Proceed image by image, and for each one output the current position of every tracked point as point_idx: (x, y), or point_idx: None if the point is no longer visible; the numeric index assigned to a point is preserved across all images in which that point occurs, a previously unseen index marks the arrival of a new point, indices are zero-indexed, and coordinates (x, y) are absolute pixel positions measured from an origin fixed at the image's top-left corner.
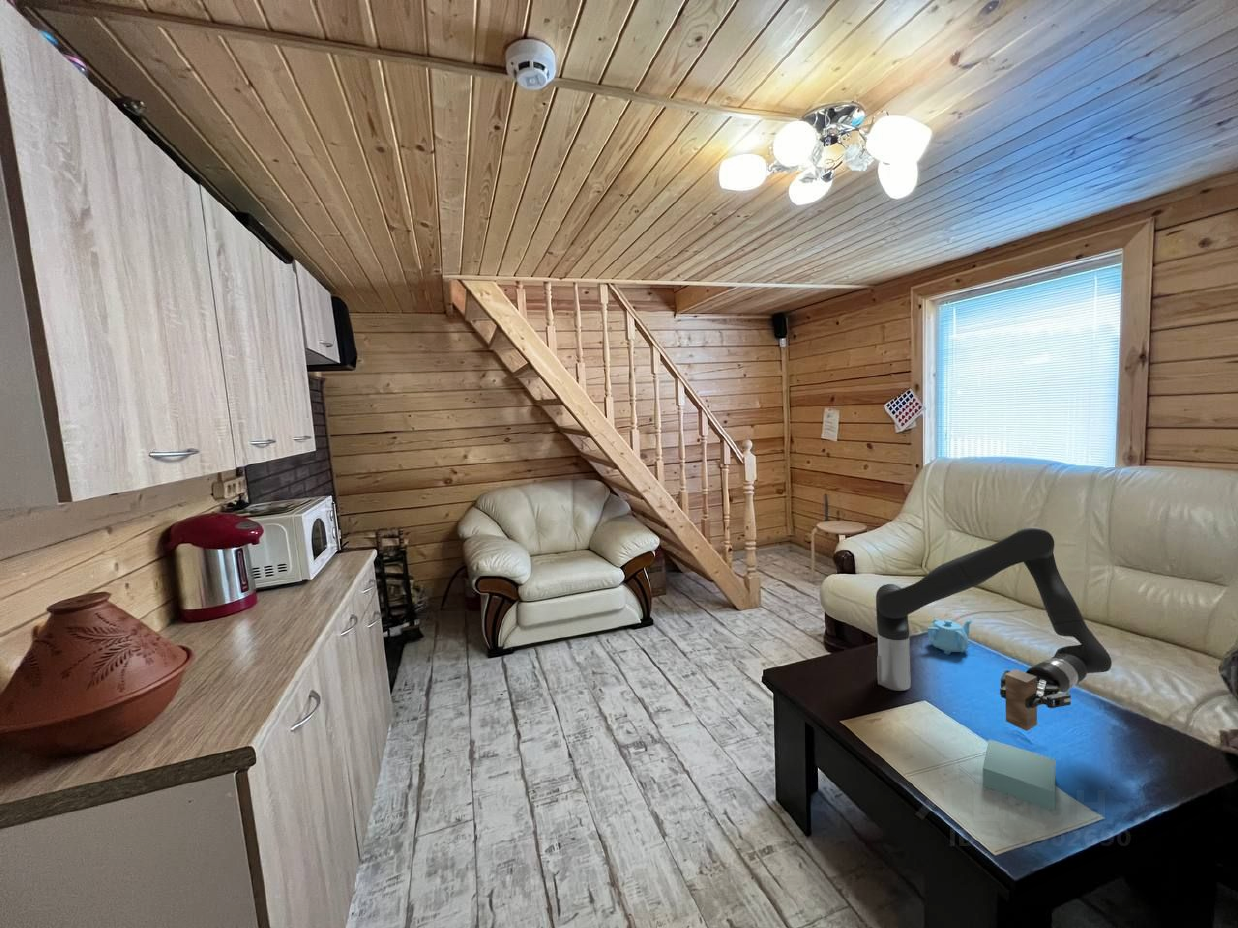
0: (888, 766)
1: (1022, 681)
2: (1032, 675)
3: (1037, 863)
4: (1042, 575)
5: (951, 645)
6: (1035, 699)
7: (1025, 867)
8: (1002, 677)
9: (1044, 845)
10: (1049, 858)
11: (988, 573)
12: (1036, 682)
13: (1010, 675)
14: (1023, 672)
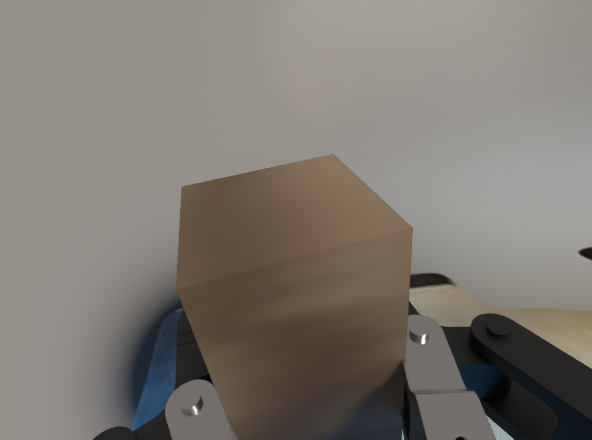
0: (427, 282)
1: (215, 186)
2: (225, 275)
3: (155, 358)
4: None
5: None
6: (191, 349)
7: (164, 336)
8: (534, 341)
9: (165, 403)
10: (147, 386)
11: None
12: (196, 334)
13: (308, 166)
14: (317, 246)
